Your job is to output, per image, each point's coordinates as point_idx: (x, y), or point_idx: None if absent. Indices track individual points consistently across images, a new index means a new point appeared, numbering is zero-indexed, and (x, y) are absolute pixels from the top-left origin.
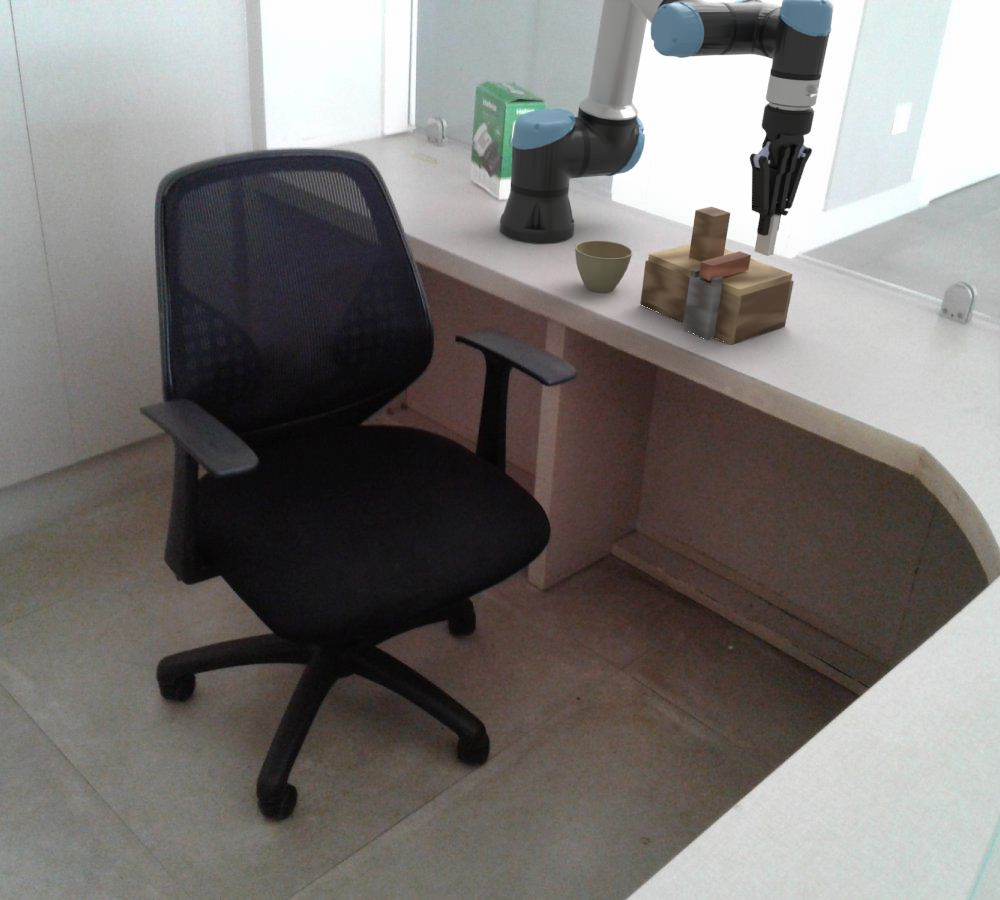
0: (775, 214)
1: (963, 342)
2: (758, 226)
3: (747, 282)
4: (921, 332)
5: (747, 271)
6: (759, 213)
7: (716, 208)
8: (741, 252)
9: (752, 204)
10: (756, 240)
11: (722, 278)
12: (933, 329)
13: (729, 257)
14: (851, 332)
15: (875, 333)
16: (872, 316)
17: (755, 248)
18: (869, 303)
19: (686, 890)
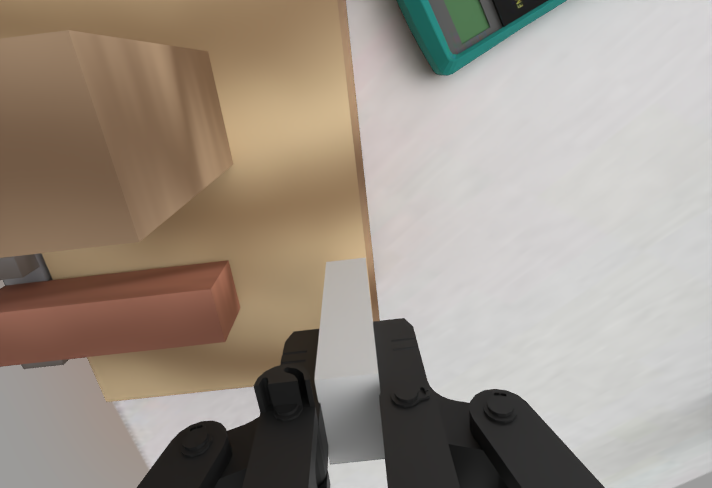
0: (377, 436)
1: (629, 471)
2: (282, 360)
3: (172, 371)
4: (612, 418)
5: (243, 299)
6: (257, 420)
7: (84, 99)
8: (207, 303)
9: (149, 478)
10: (324, 286)
11: (58, 364)
12: (649, 418)
13: (115, 326)
14: (485, 366)
15: (525, 387)
16: (614, 327)
17: (325, 270)
18: (693, 272)
19: None
